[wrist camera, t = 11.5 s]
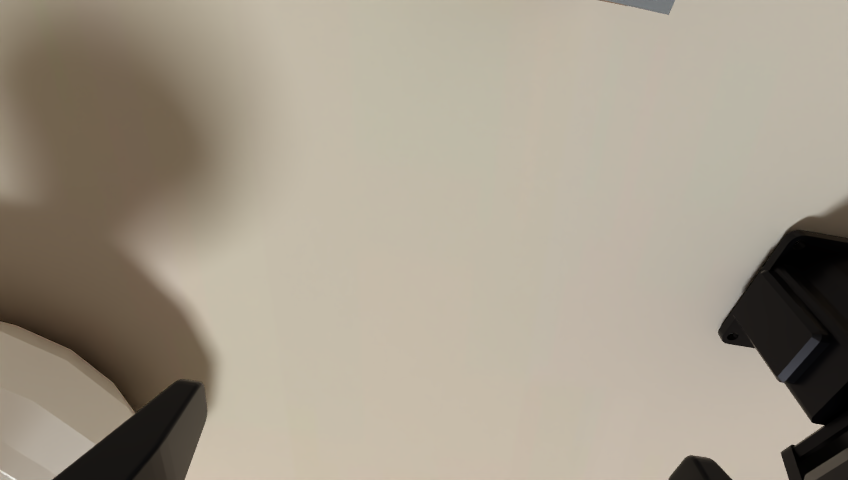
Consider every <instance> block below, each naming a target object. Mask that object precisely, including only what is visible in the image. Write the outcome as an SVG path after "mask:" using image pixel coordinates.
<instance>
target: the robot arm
mask: <svg viewBox="0 0 848 480" xmlns="http://www.w3.org/2000/svg"><path fill="white" fill-rule="evenodd" d="M799 240H800V241H799ZM797 241H799V242H798V243H797V244H795V243H796V242H797ZM731 333H732V334H731ZM718 335H719V336H720V338H721V339H722V341H723V342H724V343H727V344H732V345H738V346H744V347H750V348H756V350H757V351H758V352H759V354H760V355H761V357H762V358H763V360H764V361H765V363H766V364H767V366H768V367H769V368H770V370H771V371H772V373H773V374H774V376H775V377H776V379H777V380H778V381H779V382H783V383H785V385H786V386H787V387H788V389H789V390H790V392H791V393H792V395H793V396H794V398H795V399H796V400H797V402H798V403H799V405H800V406H801V408H802V409H803V410H804V412H805V413H806V415H807V416H808V418H809V419H810V420H811V422H812V423H815V424H821V425H824V426H823V427H821V428H820V429H819V430H817V431H816V432H814V433H813V434H811V435H810V436H808V437H807V438H805V439H804V440H803V441H801V442H800V443H798V444H797V445H791V446H789V447H788V448H786V449H785V450H783V451H782V452H781V455H782V458H783V462H784V465H785V468H786V471H787V474H788V478H789V480H848V239H847V238H842V237H836V236H830V235H825V234H819V233H813V232H808V231H802V230H796V231H792V232H790V233H788V234H787V235H786V236H785V237H784V238H783V239H782V240H781V242H780V243H779V245H778V246H777V248H776V249H775V250H774V252H773V253H772V255H771V256H770V258H769V259H768V260H767V262H766V263H765V265H764V266H763V268H762V269H761V270H760V272H759V273H758V275H757V276H756V278H755V279H754V280H753V282H752V283H751V285H750V286H749V287H748V289H747V290H746V292H745V293H744V295H743V296H742V297H741V299H740V300H739V302H738V303H737V305H736V306H735V307H734V309H733V310H732V312H731V313H730V315H729V316H728V317H727V319H726V320H725V322H724V323H723V325H722V326H721V327H720V329H719V331H718ZM206 417H207V404H206V396H205V389H204V385H203V383H202V382H199V381H193V380H186V379H180V380H178V381H176V382H174V383H173V384H172V385H170V386H169V387H168V388H167V389H165V390H164V391H163V392H162V393H160V394H159V395H158V396H157V397H155V398H154V399H153V400H151V401H150V402H149V403H148V404H146V405H145V406H144V407H143V408H141V409H140V410H139V411H138V412H136V413H135V414H134V415H133V416H131V417H130V418H129V419H128V420H126V421H125V422H124V423H123V424H121V425H120V426H119V427H117V428H116V429H115V430H114V431H112V432H111V433H110V434H109V435H107V436H106V437H105V438H104V439H102V440H101V441H100V442H99V443H97V444H96V445H95V446H94V447H92V448H91V449H90V450H88V451H87V452H86V453H85V454H83V455H82V456H81V457H80V458H78V459H77V460H76V461H75V462H73V463H72V464H71V465H70V466H68V467H67V468H66V469H65V470H63V471H62V472H61V473H60V474H58V475H57V476H56V477H54V478H53V479H52V480H185V477H186V474H187V471H188V469H189V466H190V463H191V460H192V458H193V455H194V452H195V449H196V447H197V444H198V441H199V438H200V436H201V433H202V430H203V427H204V424H205V421H206ZM669 480H732V479H731V478H730V477H729V476H728V475H727V474H726V473H725V472H724V471H723V469H722V468H721V467H720V466H719V465H718V464H717V463H716V462H715V461H713V460H712V459H710V458H706V457H700V456H693V455H690V456H687V457H686V458H685V459H684V460H683V461H682V462H681V464H680V465H679V466H678V467H677V469H676V470H675V471H674V472H673V473H672V475H671V476H670V477H669Z"/></svg>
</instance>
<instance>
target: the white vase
mask: <svg viewBox="0 0 848 480" xmlns="http://www.w3.org/2000/svg"><path fill="white" fill-rule="evenodd" d="M134 414H135V412H134V410H133V409H132V408H131V406H130V405H129V404H128V402H127V401H126V400H125V398H124V397H123V395H122V394H121V393H120V391H119V390H118V389H117V387H116V386H115V385H114V383H113V382H112V381H110V380H109V379H108V378H107V377H105V376H104V375H103V374H102V373H100V372H99V371H98V370H96V369H95V368H94V367H93V366H91V365H90V364H89V363H88V362H86V361H85V360H84V359H82V358H81V357H80V356H79V355H77V354H76V353H75V352H74V351H72V350H71V349H68V348H66V347H64V346H62V345H59V344H57V343H55V342H53V341H50V340H48V339H46V338H44V337H41V336H39V335H37V334H35V333H33V332H30V331H28V330H26V329H24V328H21V327H19V326H17V325H14V324H10V323H5V322H1V321H0V480H52V479H53V478H54V477H56V476H57V475H58V474H60V473H61V472H62V471H63V470H65V469H66V468H67V467H68V466H70V465H71V464H72V463H73V462H75V461H76V460H77V459H78V458H80V457H81V456H82V455H83V454H85V453H86V452H87V451H88V450H90V449H91V448H92V447H94V446H95V445H96V444H97V443H99V442H100V441H101V440H102V439H104V438H105V437H106V436H107V435H109V434H110V433H111V432H112V431H114V430H115V429H116V428H117V427H119V426H120V425H121V424H123V423H124V422H125V421H126V420H128V419H129V418H130V417H131V416H133V415H134Z"/></svg>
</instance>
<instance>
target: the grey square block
mask: <svg viewBox="0 0 848 480" xmlns="http://www.w3.org/2000/svg"><path fill="white" fill-rule="evenodd" d="M605 1H610V2H614V3H618V4H623V5H627V6H632V7H636V8H641V9H645V10H650V11H654V12H658V13H663V14H667V15H669V13H670V10H671V8H672V6H673V4H674V1H675V0H605Z"/></svg>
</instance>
